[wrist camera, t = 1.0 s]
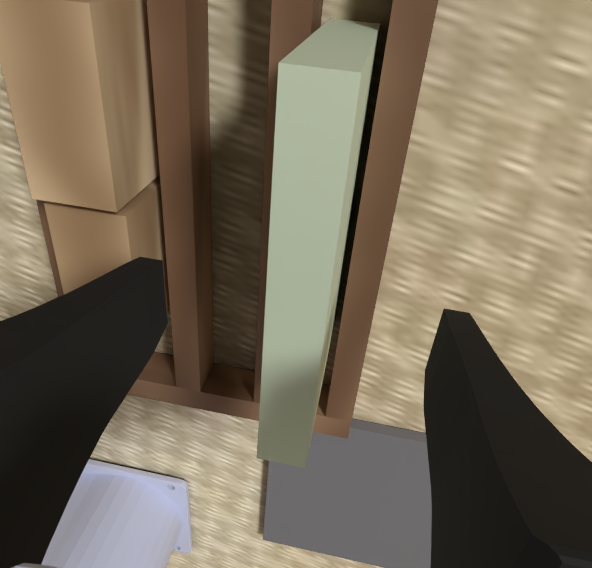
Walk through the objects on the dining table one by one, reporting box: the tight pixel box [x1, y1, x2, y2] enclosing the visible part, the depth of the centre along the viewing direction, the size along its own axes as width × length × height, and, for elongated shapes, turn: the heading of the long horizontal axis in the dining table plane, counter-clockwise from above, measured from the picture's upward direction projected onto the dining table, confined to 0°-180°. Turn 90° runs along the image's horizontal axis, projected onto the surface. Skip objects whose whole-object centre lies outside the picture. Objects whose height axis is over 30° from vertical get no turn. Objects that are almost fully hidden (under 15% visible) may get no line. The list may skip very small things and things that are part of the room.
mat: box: [263, 419, 432, 568], centre depth 29 cm, size 14×12×1 cm
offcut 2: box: [44, 175, 170, 312], centre depth 21 cm, size 3×6×4 cm, turn 175°
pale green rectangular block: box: [257, 18, 380, 468], centre depth 16 cm, size 2×12×8 cm, turn 175°
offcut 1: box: [0, 0, 160, 212], centre depth 17 cm, size 3×6×4 cm, turn 176°
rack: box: [36, 0, 438, 439], centre depth 19 cm, size 14×22×2 cm, turn 175°
